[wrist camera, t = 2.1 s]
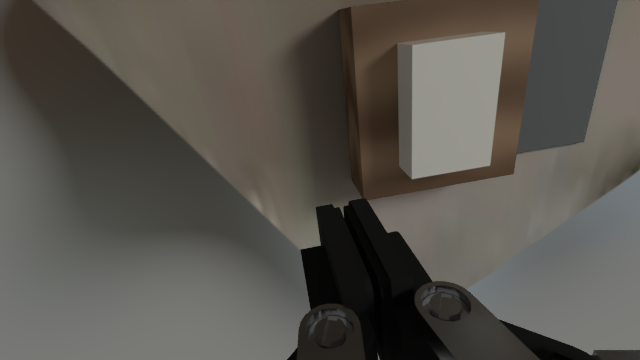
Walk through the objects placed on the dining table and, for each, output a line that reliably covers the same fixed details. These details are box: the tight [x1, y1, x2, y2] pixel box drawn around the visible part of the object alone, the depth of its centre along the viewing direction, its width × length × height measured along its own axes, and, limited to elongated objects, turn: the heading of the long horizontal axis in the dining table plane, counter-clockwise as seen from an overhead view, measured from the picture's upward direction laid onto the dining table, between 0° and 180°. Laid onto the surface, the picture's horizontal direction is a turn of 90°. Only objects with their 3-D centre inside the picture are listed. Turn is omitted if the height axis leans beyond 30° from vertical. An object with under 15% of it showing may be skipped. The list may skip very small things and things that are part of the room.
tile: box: [397, 32, 505, 179], centre depth 23 cm, size 9×6×2 cm, turn 7°
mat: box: [517, 0, 618, 153], centre depth 29 cm, size 14×10×1 cm
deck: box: [338, 0, 539, 200], centre depth 26 cm, size 14×13×4 cm
